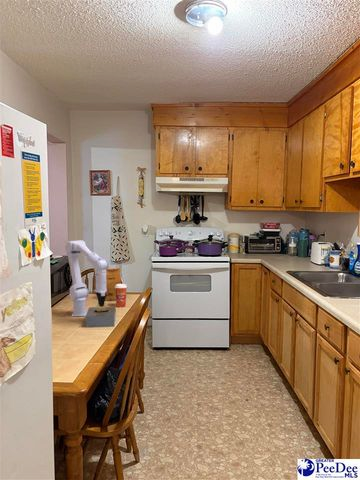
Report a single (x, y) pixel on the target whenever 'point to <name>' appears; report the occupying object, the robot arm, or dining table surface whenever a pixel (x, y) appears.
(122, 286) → the paper cup
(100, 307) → the block
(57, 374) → the dining table surface
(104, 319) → the coin box
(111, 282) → the coffee package
